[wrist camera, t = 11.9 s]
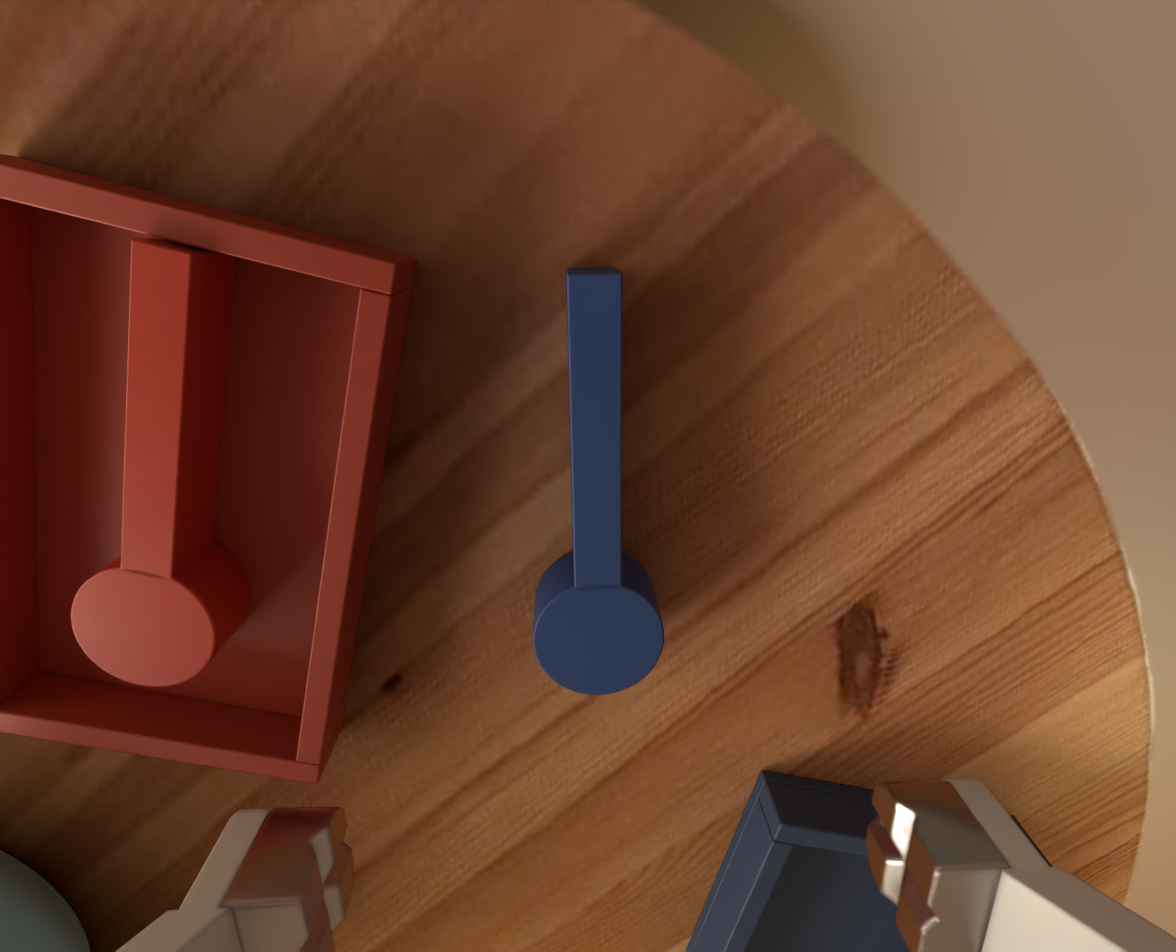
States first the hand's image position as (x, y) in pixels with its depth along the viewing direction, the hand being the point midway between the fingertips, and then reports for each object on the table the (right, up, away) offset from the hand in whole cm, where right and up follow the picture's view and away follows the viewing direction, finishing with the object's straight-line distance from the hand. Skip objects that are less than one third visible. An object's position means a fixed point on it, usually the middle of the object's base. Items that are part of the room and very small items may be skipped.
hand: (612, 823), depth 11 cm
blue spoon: (0, +5, +11) cm, 12 cm away
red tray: (-12, +5, +11) cm, 17 cm away
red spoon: (-12, +6, +10) cm, 17 cm away
